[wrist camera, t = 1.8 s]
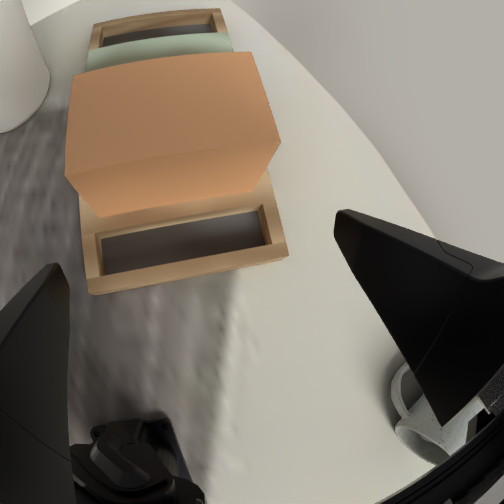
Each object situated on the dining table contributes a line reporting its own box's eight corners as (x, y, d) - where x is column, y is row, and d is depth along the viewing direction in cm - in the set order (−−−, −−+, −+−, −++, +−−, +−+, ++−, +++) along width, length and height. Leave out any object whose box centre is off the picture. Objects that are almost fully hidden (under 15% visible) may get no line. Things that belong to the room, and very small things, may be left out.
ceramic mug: (458, 397, 25) (510, 406, 17) (413, 456, 22) (463, 479, 15) (419, 334, 25) (479, 333, 18) (364, 400, 23) (421, 421, 15)
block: (252, 191, 22) (280, 141, 15) (99, 217, 19) (64, 176, 12) (233, 113, 23) (251, 51, 16) (96, 134, 20) (73, 75, 13)
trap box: (280, 260, 23) (289, 255, 21) (96, 295, 20) (88, 293, 18) (217, 20, 27) (220, 8, 25) (96, 36, 24) (93, 24, 22)
